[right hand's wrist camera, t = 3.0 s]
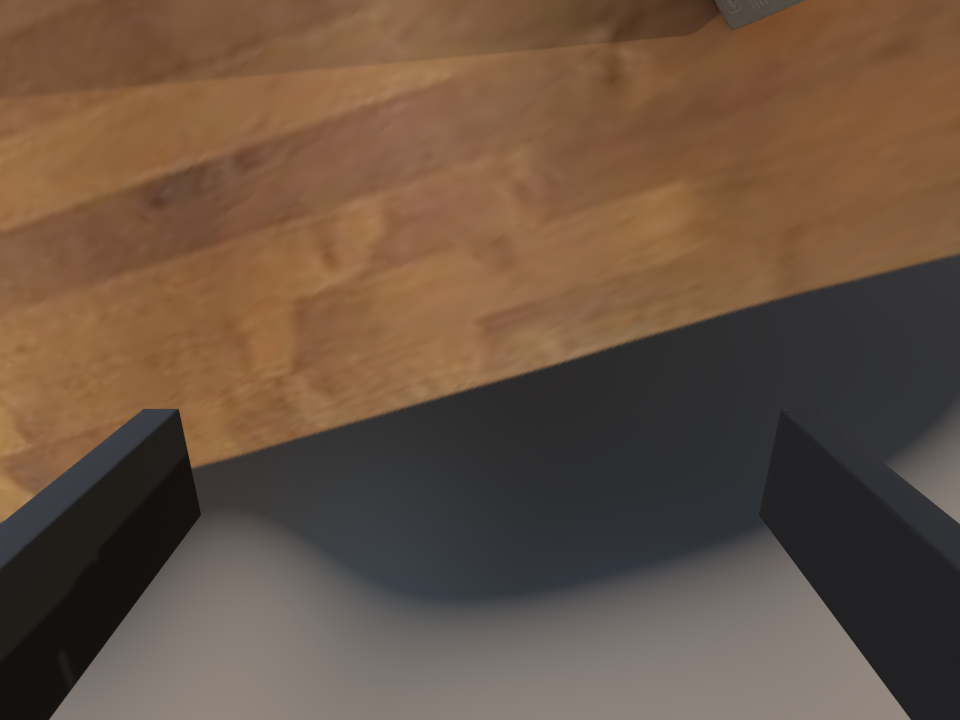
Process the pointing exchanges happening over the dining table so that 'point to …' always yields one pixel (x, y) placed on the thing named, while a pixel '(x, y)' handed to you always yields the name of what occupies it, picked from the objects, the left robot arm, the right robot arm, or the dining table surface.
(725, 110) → the dining table surface
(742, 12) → the hard drive box
